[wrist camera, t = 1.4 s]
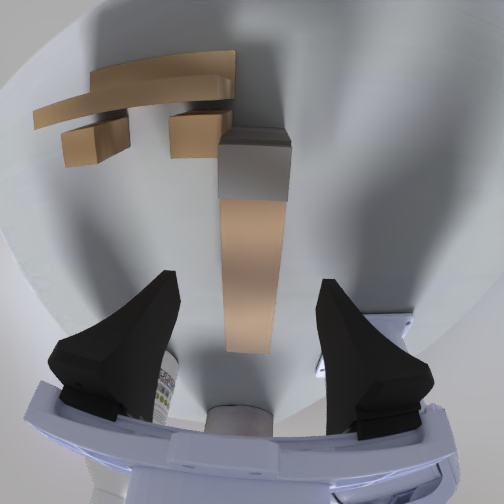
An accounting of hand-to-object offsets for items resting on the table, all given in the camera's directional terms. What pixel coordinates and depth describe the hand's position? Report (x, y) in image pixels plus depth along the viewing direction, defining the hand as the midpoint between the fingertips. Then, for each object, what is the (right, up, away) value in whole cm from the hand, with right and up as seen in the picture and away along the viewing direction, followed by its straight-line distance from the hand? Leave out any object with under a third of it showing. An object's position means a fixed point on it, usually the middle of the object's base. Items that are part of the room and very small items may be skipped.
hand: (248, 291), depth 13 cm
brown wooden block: (0, +3, +5) cm, 6 cm away
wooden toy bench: (-5, +11, 0) cm, 12 cm away
